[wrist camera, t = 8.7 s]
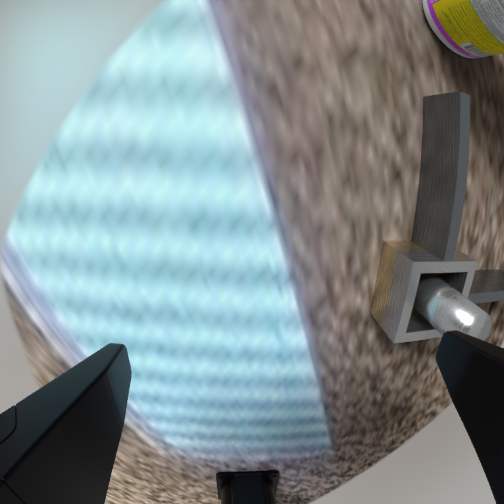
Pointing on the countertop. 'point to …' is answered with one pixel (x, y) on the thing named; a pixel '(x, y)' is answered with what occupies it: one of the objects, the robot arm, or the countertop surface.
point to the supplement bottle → (468, 25)
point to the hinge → (433, 228)
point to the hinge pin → (449, 308)
